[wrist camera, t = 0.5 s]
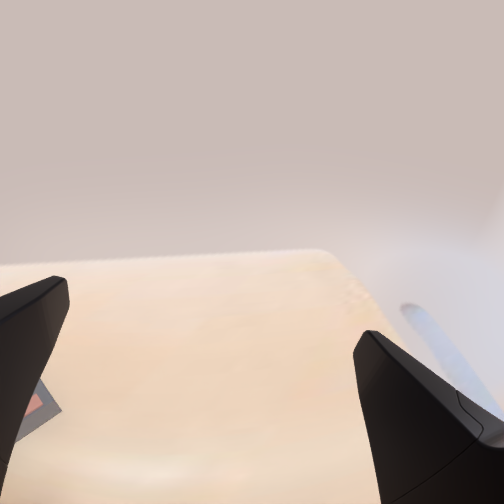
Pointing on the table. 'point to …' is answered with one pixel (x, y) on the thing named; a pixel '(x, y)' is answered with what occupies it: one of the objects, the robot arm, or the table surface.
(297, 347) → the table surface
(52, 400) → the grey tray with blocks
